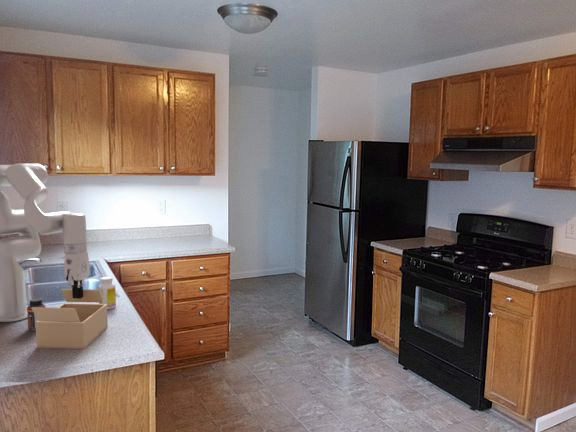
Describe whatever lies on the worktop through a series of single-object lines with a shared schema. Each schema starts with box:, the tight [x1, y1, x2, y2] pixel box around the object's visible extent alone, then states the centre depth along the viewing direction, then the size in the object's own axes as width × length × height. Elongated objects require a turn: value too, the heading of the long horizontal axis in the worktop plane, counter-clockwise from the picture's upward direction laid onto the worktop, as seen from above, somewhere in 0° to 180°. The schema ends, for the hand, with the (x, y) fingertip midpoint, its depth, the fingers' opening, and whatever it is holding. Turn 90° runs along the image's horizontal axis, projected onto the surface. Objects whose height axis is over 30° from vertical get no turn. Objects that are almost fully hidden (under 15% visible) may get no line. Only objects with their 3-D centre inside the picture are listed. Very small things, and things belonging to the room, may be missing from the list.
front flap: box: [32, 307, 80, 322], centre depth 154 cm, size 14×6×1 cm
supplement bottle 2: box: [98, 276, 117, 310], centre depth 199 cm, size 7×7×13 cm
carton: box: [35, 302, 109, 350], centre depth 166 cm, size 16×20×9 cm
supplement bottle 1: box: [27, 297, 46, 332], centre depth 173 cm, size 6×6×11 cm
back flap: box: [61, 288, 104, 304], centre depth 173 cm, size 14×6×1 cm
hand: (78, 297), depth 170 cm, fingers closed
